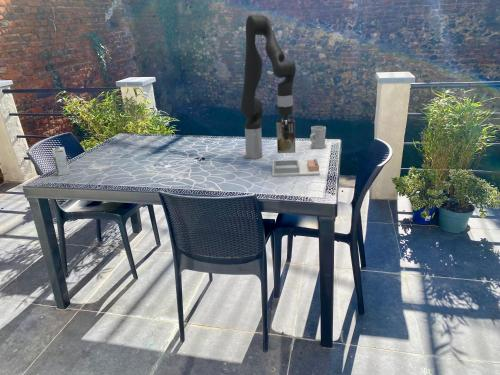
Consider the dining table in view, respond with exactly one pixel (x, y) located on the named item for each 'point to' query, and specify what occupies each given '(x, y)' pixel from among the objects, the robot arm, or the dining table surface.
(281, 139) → the coffee box
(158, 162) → the dining table surface
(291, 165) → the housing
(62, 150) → the syrup box
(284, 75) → the robot arm
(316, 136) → the cup
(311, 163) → the pink rectangular block
